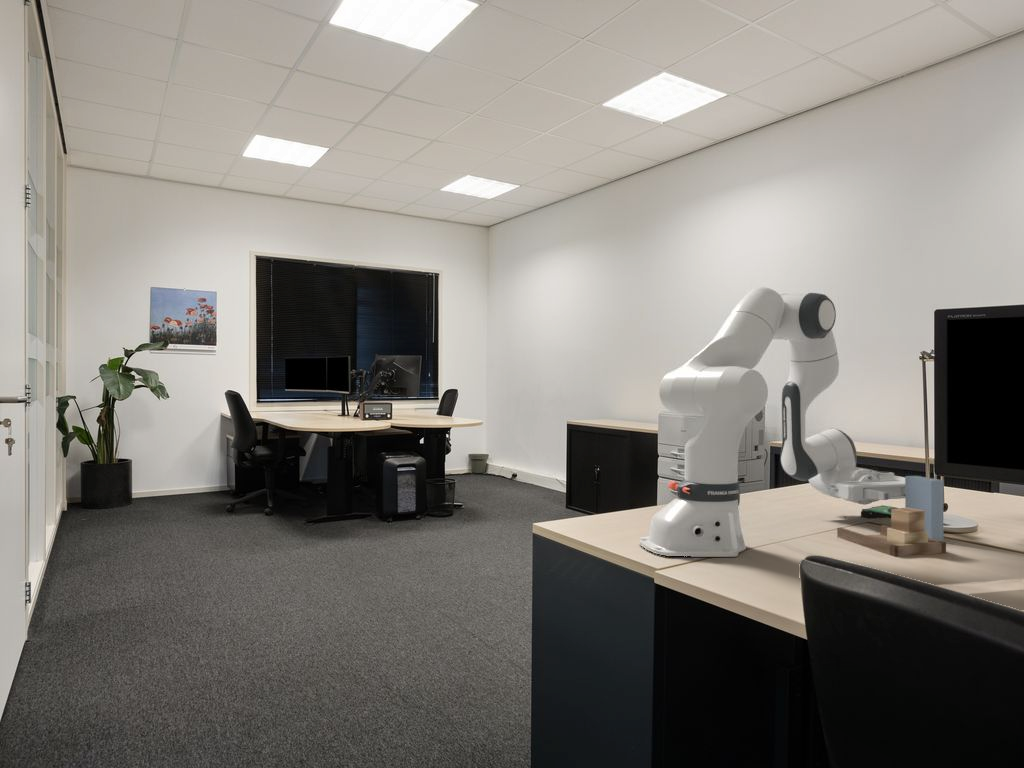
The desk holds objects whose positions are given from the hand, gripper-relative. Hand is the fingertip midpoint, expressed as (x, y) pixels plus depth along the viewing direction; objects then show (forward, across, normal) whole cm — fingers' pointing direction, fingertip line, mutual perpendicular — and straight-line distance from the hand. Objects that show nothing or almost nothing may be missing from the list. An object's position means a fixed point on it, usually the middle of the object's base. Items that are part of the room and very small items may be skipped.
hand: (904, 495), depth 146 cm
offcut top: (+14, -12, +4) cm, 19 cm away
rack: (+10, -13, +10) cm, 19 cm away
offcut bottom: (+14, -12, +8) cm, 20 cm away
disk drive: (-16, +13, +10) cm, 23 cm away
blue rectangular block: (+6, 0, +9) cm, 11 cm away
